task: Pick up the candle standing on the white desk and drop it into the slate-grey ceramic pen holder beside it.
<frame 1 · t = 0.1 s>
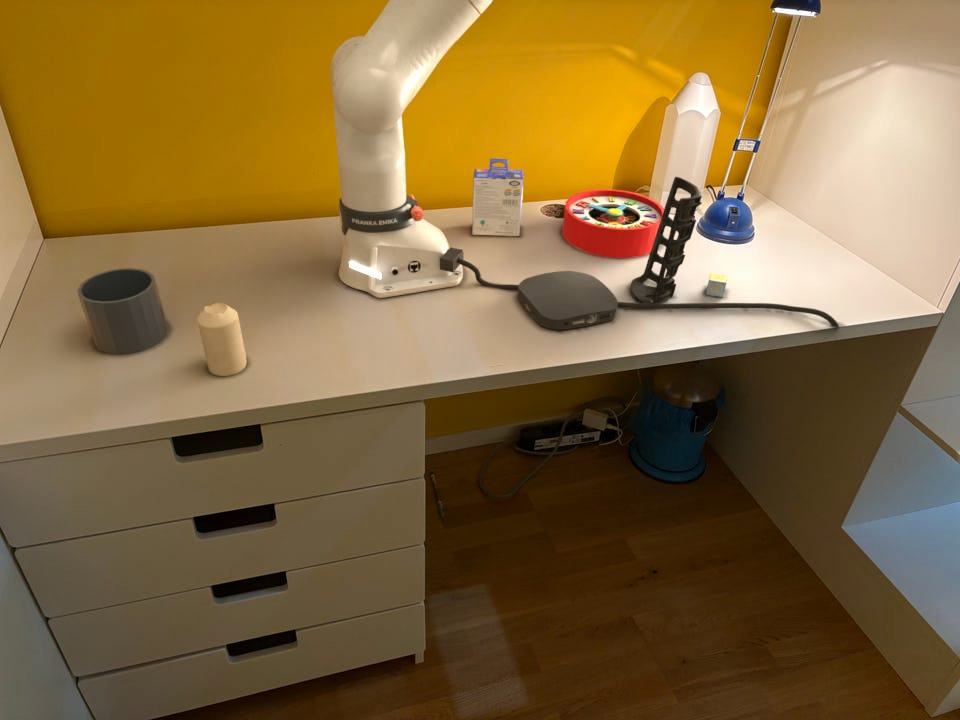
toy clock: (611, 236, 149), on the table
media streaming box: (565, 306, 125), on the table
ink cartridge box: (496, 231, 149), on the table
candle: (228, 366, 108), on the table
holder: (654, 294, 129), on the table
pen holder: (131, 335, 114), on the table
alphabet block: (714, 293, 130), on the table
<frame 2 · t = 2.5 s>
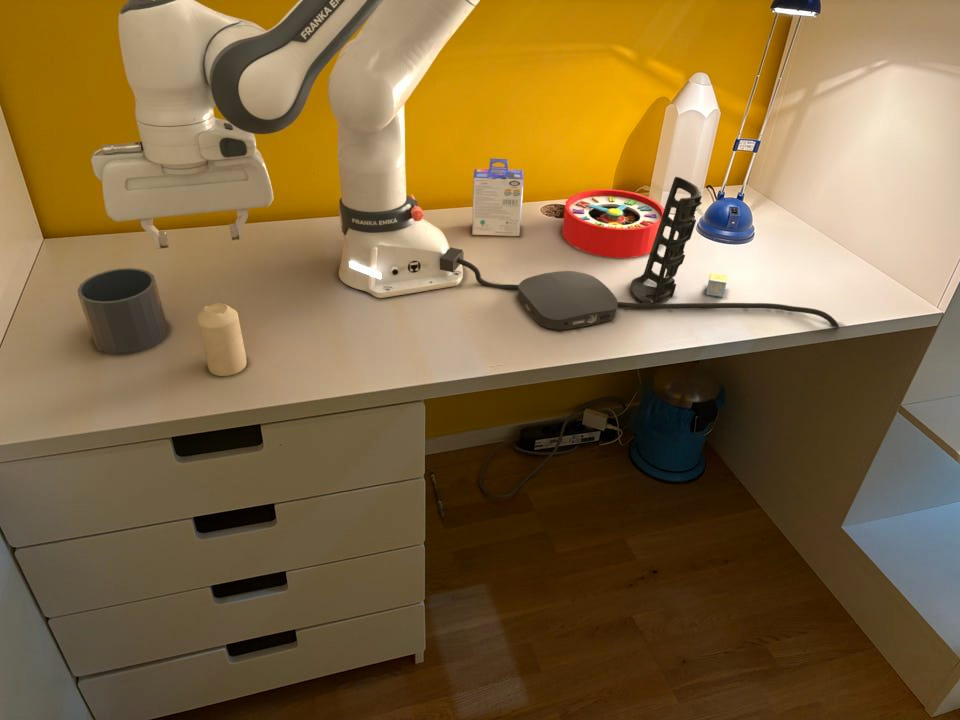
hand: (200, 242, 97), 20 cm above the table, tool pointing down, fingers open, 8 cm apart
nothing on the table moved.
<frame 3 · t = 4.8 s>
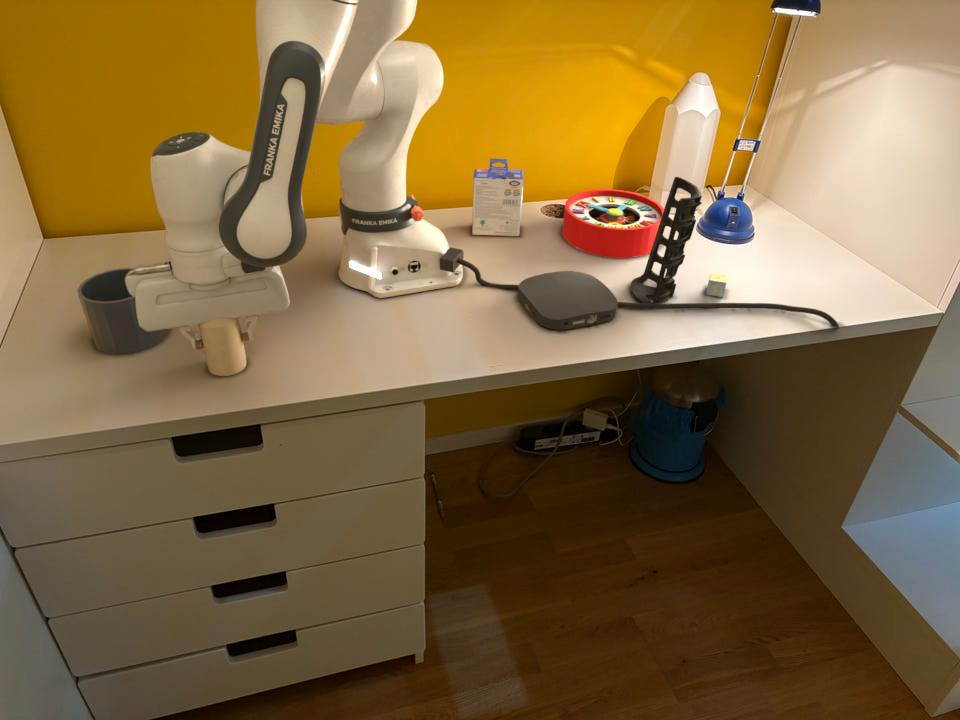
hand: (223, 343, 105), 4 cm above the table, tool pointing down, fingers closed on candle, 5 cm apart
candle: (228, 366, 108), on the table, touching gripper
everything else where it was.
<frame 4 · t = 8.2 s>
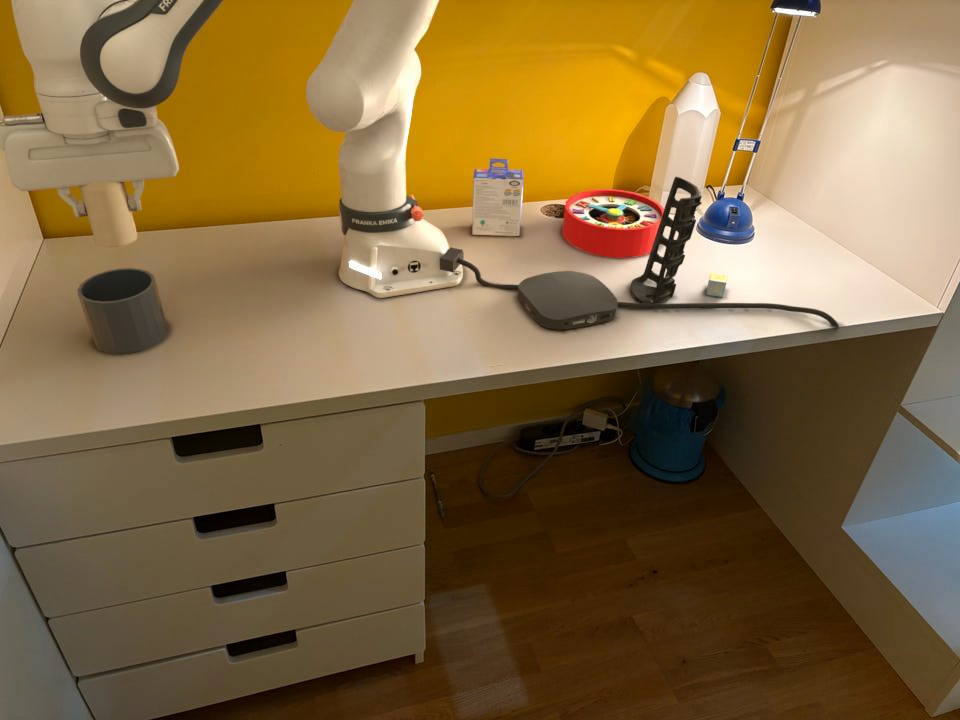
hand: (109, 212, 100), 21 cm above the table, tool pointing down, fingers closed on candle, 5 cm apart
candle: (117, 240, 103), point 17 cm above the table, touching gripper
everything else where it was.
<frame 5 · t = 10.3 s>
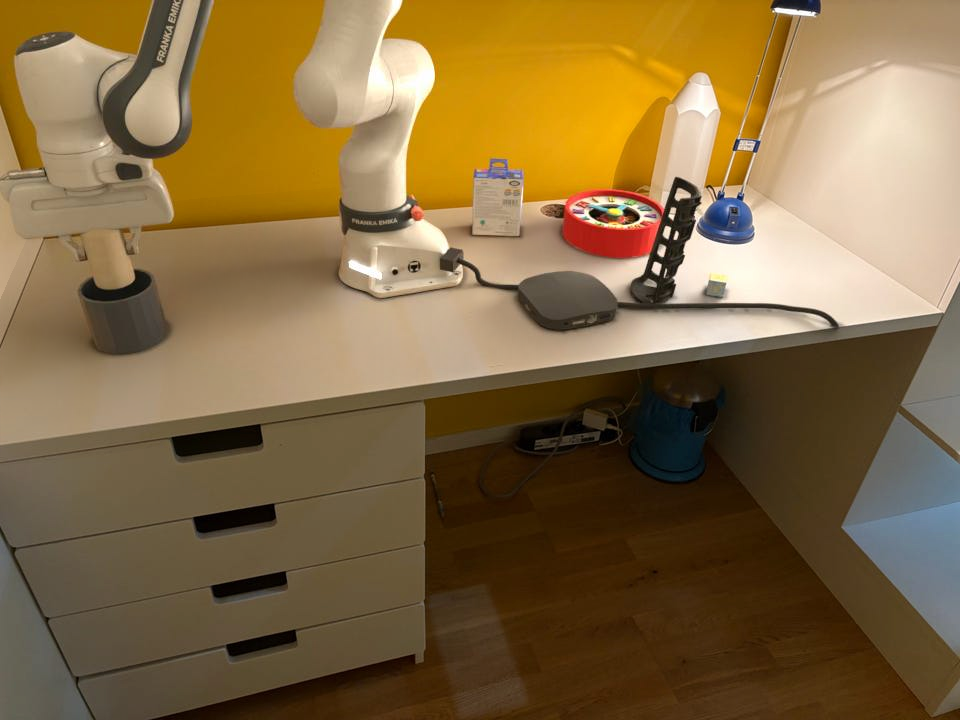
hand: (108, 256, 106), 14 cm above the table, tool pointing down, fingers closed on candle, 5 cm apart
candle: (116, 281, 109), point 9 cm above the table, touching gripper
everything else where it was.
when the fingers open (11 cm above the table, at t = 11.5 s): candle drops 6 cm, resting on pen holder.
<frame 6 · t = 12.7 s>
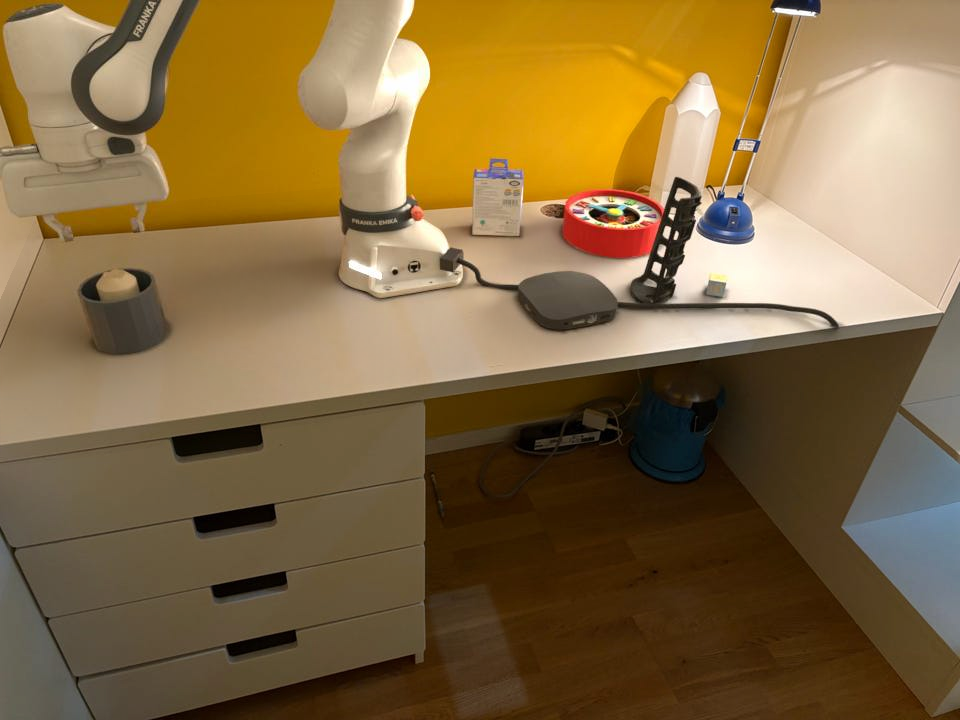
hand: (104, 235, 105), 17 cm above the table, tool pointing down, fingers open, 8 cm apart
candle: (130, 331, 114), point 1 cm above the table, touching pen holder
everything else where it was.
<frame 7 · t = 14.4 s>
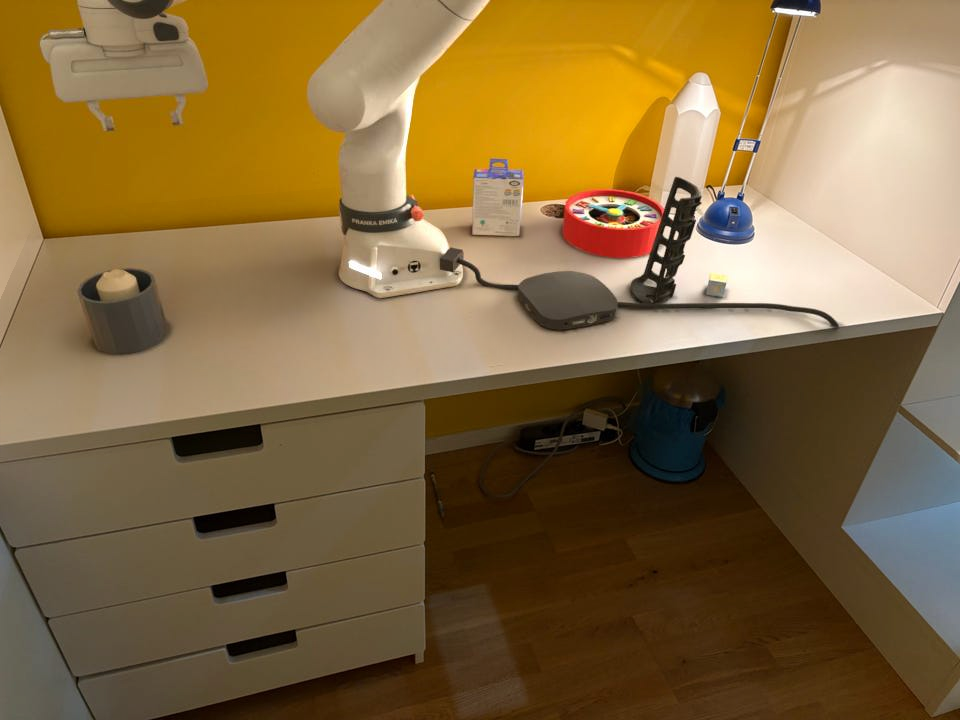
hand: (144, 127, 108), 29 cm above the table, tool pointing down, fingers open, 8 cm apart
nothing on the table moved.
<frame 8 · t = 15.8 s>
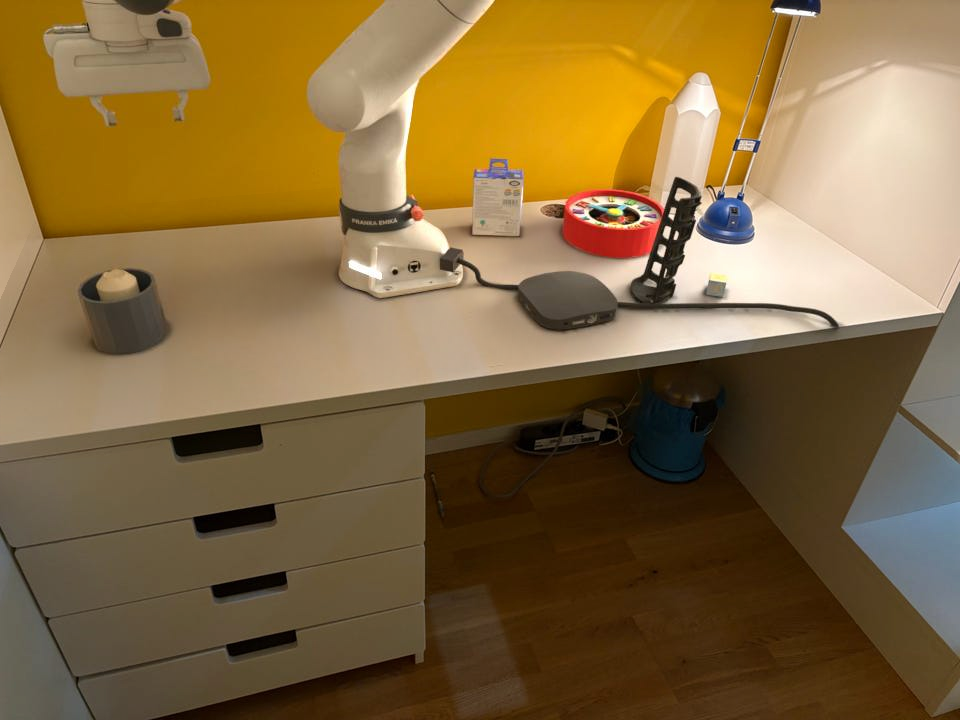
hand: (146, 122, 108), 29 cm above the table, tool pointing down, fingers open, 8 cm apart
nothing on the table moved.
at the end: candle 0.2 cm off-centre in the pen holder, point 0.6 cm above the pen holder's base; candle tilted 0°; the gripper is holding nothing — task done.
